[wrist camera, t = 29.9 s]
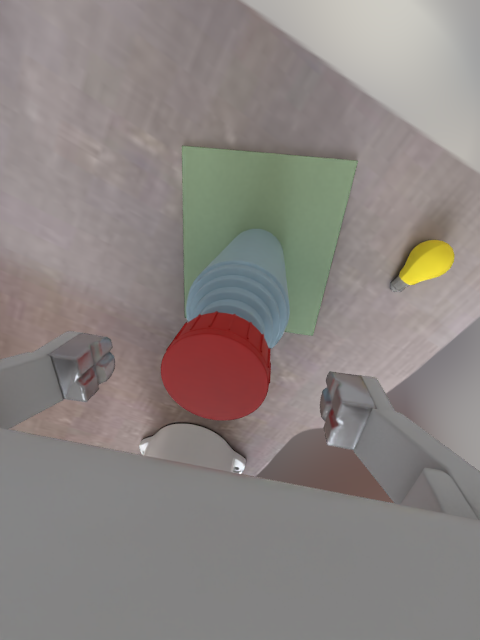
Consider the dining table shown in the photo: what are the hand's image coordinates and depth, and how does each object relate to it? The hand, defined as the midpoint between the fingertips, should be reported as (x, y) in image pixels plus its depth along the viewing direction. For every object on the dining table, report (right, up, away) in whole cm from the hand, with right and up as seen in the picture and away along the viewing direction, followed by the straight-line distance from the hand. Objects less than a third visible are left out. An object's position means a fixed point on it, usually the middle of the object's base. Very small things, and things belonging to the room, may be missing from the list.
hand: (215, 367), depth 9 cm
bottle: (+3, +9, +17) cm, 20 cm away
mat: (+3, +9, +18) cm, 20 cm away
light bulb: (+19, +7, +16) cm, 26 cm away
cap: (0, 0, 0) cm, 0 cm away
